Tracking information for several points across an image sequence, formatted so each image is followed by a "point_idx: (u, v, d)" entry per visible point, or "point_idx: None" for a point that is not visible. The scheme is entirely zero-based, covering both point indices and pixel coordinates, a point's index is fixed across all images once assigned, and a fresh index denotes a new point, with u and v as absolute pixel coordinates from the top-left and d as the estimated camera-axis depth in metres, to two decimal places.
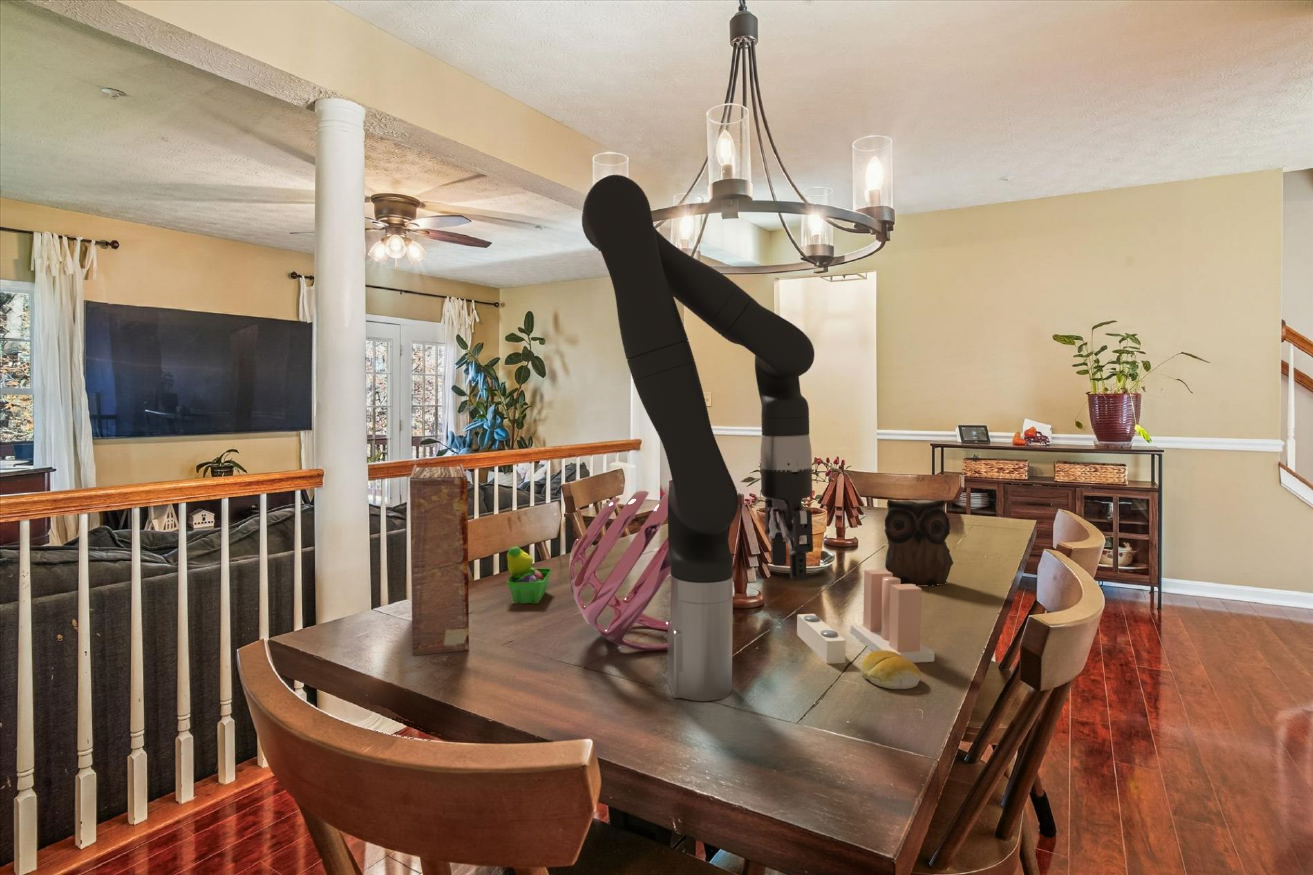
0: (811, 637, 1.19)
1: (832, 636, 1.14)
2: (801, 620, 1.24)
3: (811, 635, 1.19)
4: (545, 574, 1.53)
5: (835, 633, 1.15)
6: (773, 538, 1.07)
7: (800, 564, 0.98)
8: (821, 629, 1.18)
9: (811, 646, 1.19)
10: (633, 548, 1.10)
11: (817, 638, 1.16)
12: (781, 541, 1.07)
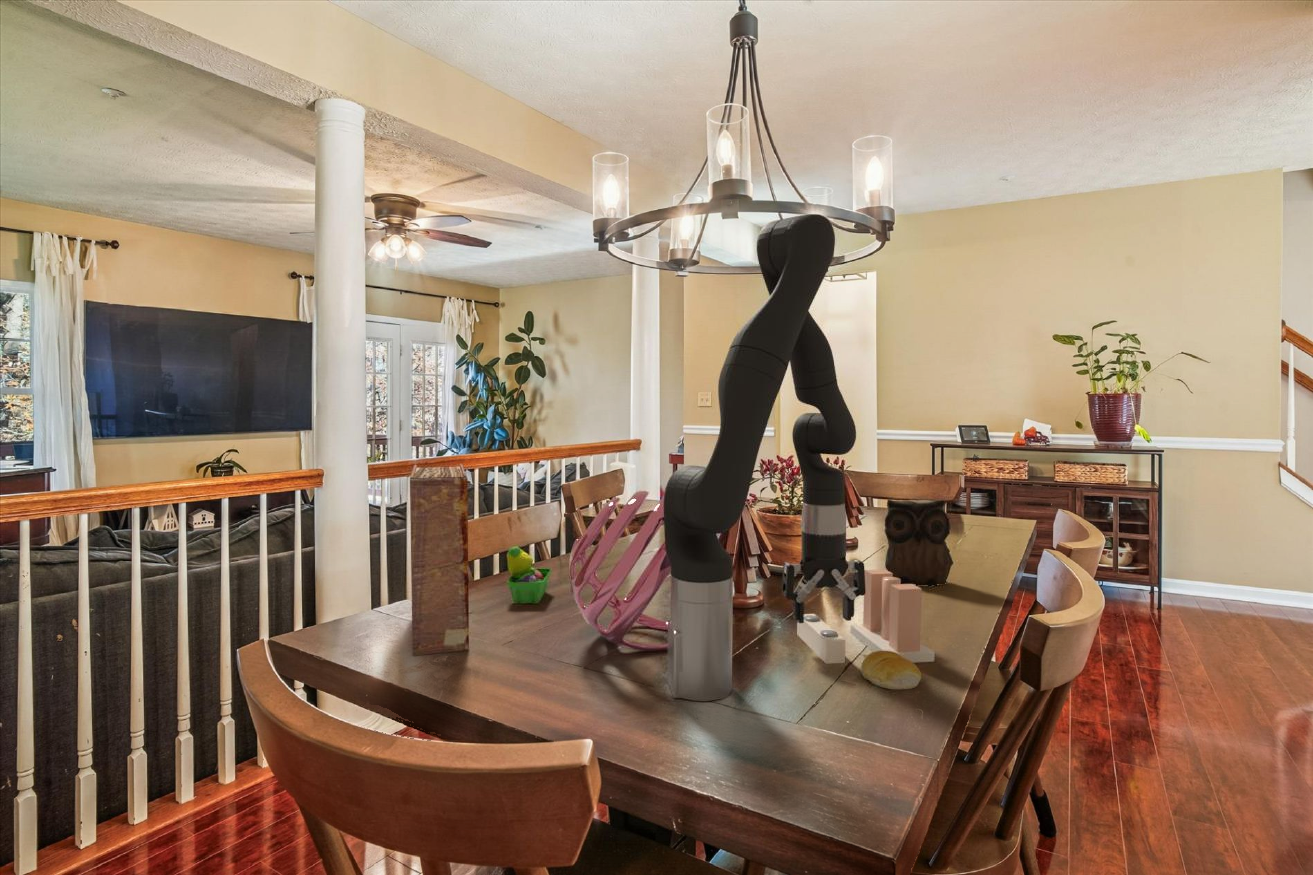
0: (811, 637, 1.19)
1: (832, 636, 1.14)
2: None
3: (811, 635, 1.19)
4: (545, 574, 1.53)
5: (835, 633, 1.15)
6: None
7: None
8: (821, 629, 1.18)
9: (811, 646, 1.19)
10: (633, 548, 1.10)
11: (817, 638, 1.16)
12: None
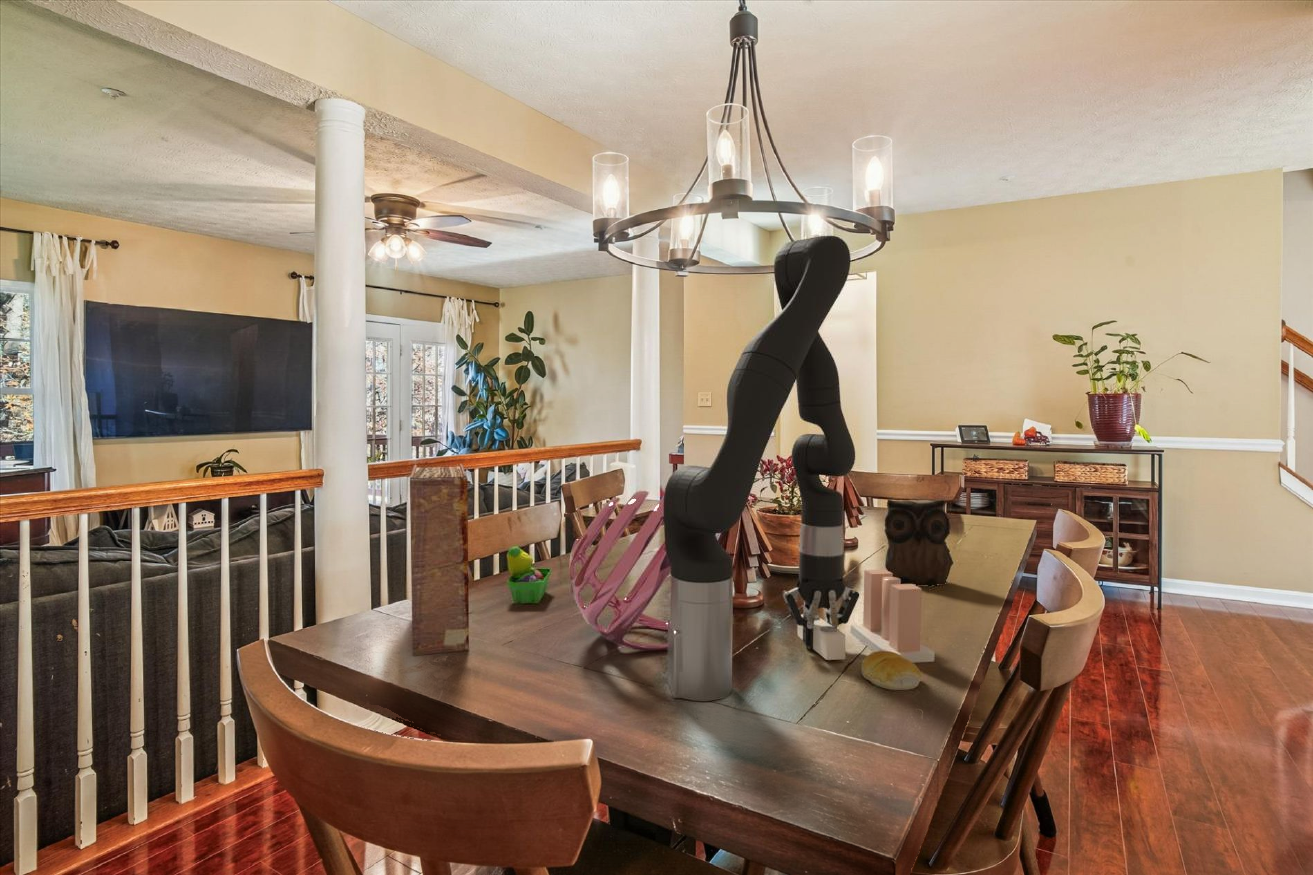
0: None
1: (831, 631, 1.14)
2: None
3: None
4: (545, 574, 1.53)
5: (835, 628, 1.15)
6: None
7: None
8: (820, 625, 1.18)
9: None
10: (633, 548, 1.10)
11: (817, 634, 1.16)
12: None
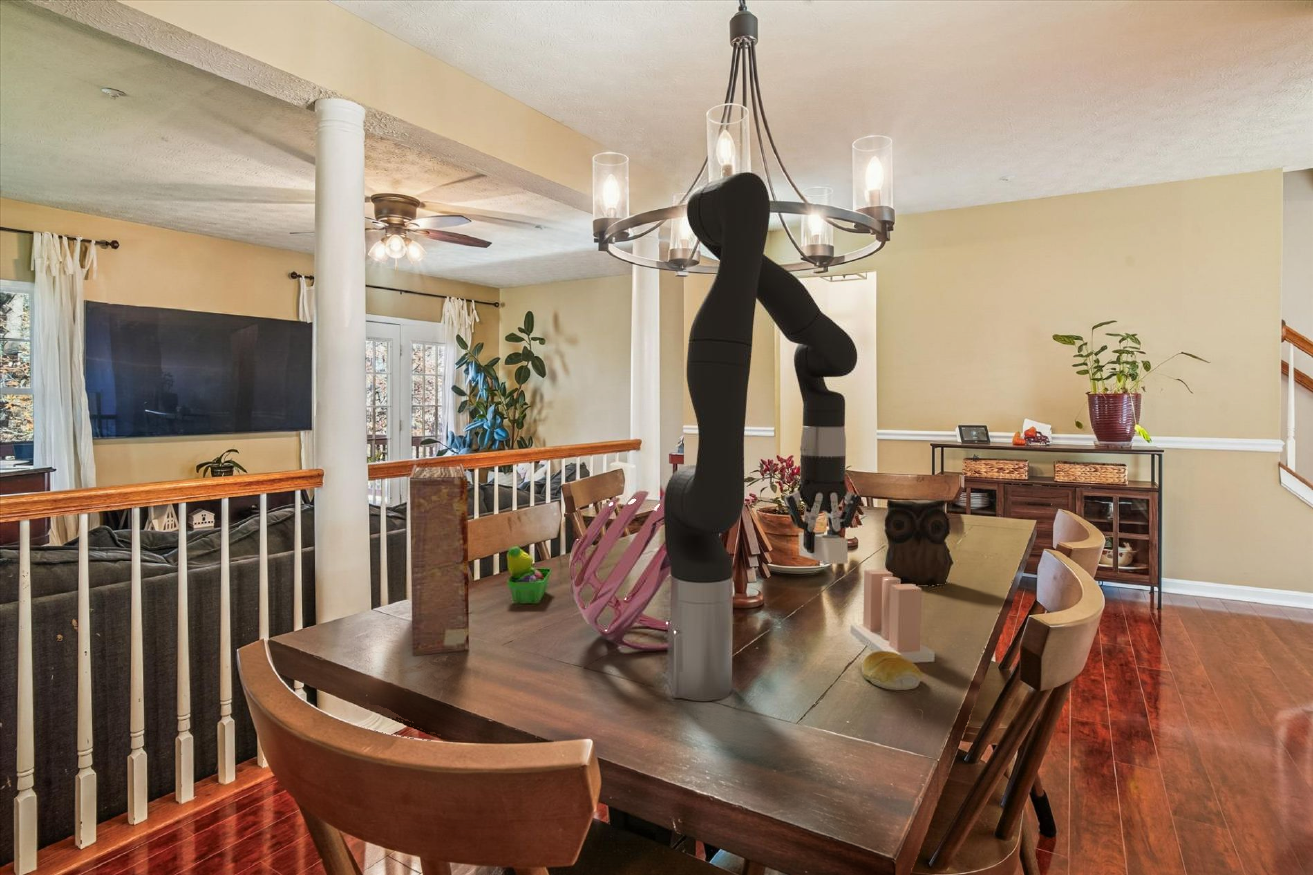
0: None
1: (833, 537, 1.13)
2: (802, 535, 1.23)
3: None
4: (545, 574, 1.53)
5: (836, 535, 1.14)
6: None
7: None
8: None
9: (813, 555, 1.17)
10: (633, 548, 1.10)
11: (819, 542, 1.15)
12: None
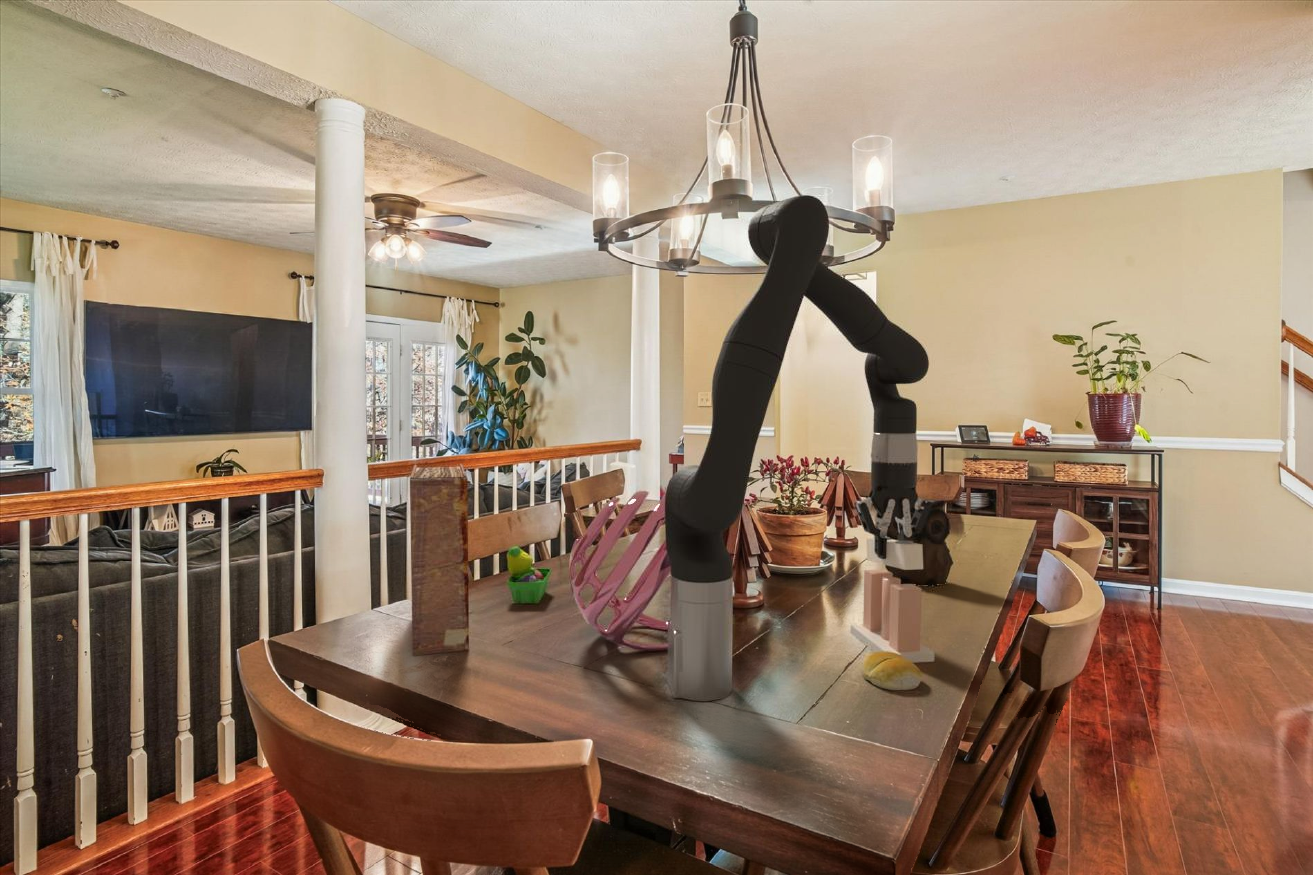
0: None
1: (907, 543, 1.13)
2: (871, 541, 1.23)
3: None
4: (545, 574, 1.53)
5: (910, 541, 1.14)
6: None
7: None
8: (894, 541, 1.17)
9: (885, 561, 1.18)
10: (633, 548, 1.10)
11: (892, 548, 1.15)
12: None
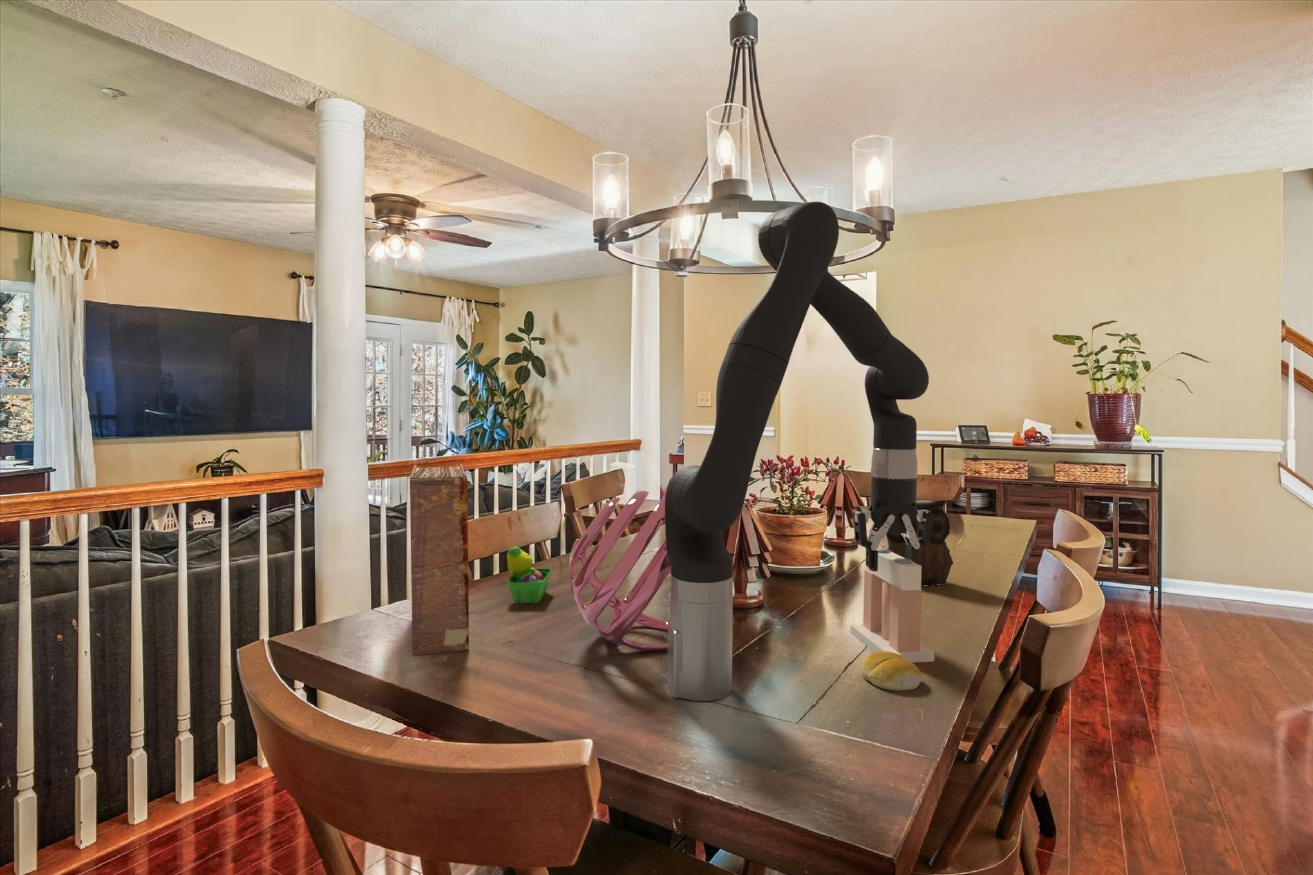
0: (883, 567, 1.19)
1: (907, 563, 1.13)
2: None
3: (883, 565, 1.19)
4: (545, 574, 1.53)
5: (909, 560, 1.14)
6: None
7: None
8: (893, 558, 1.18)
9: (883, 576, 1.18)
10: (633, 548, 1.10)
11: (891, 566, 1.16)
12: None
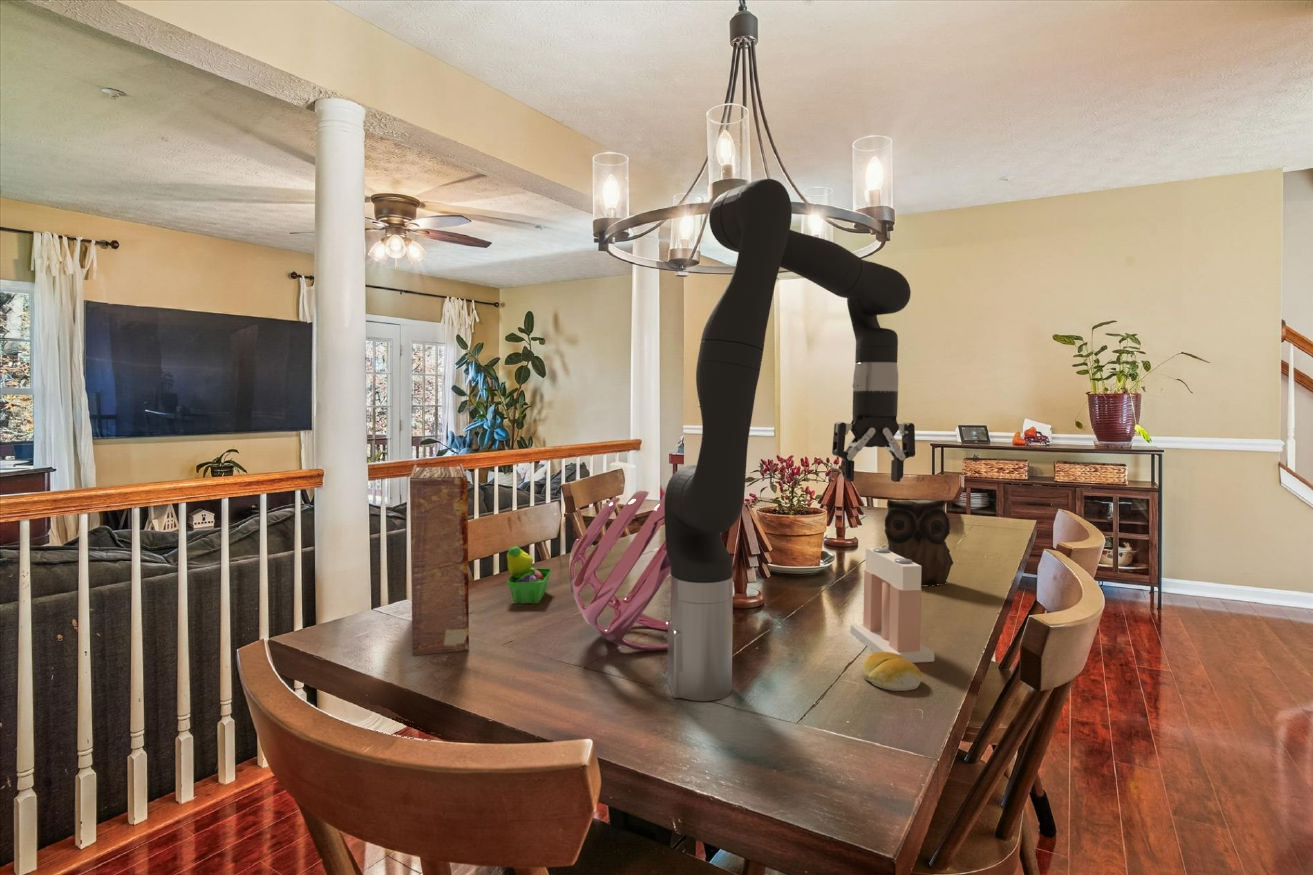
0: (883, 567, 1.19)
1: (907, 563, 1.13)
2: (870, 552, 1.24)
3: (883, 565, 1.19)
4: (545, 574, 1.53)
5: (909, 560, 1.14)
6: None
7: None
8: (893, 558, 1.18)
9: (883, 576, 1.18)
10: (633, 548, 1.10)
11: (891, 566, 1.16)
12: None
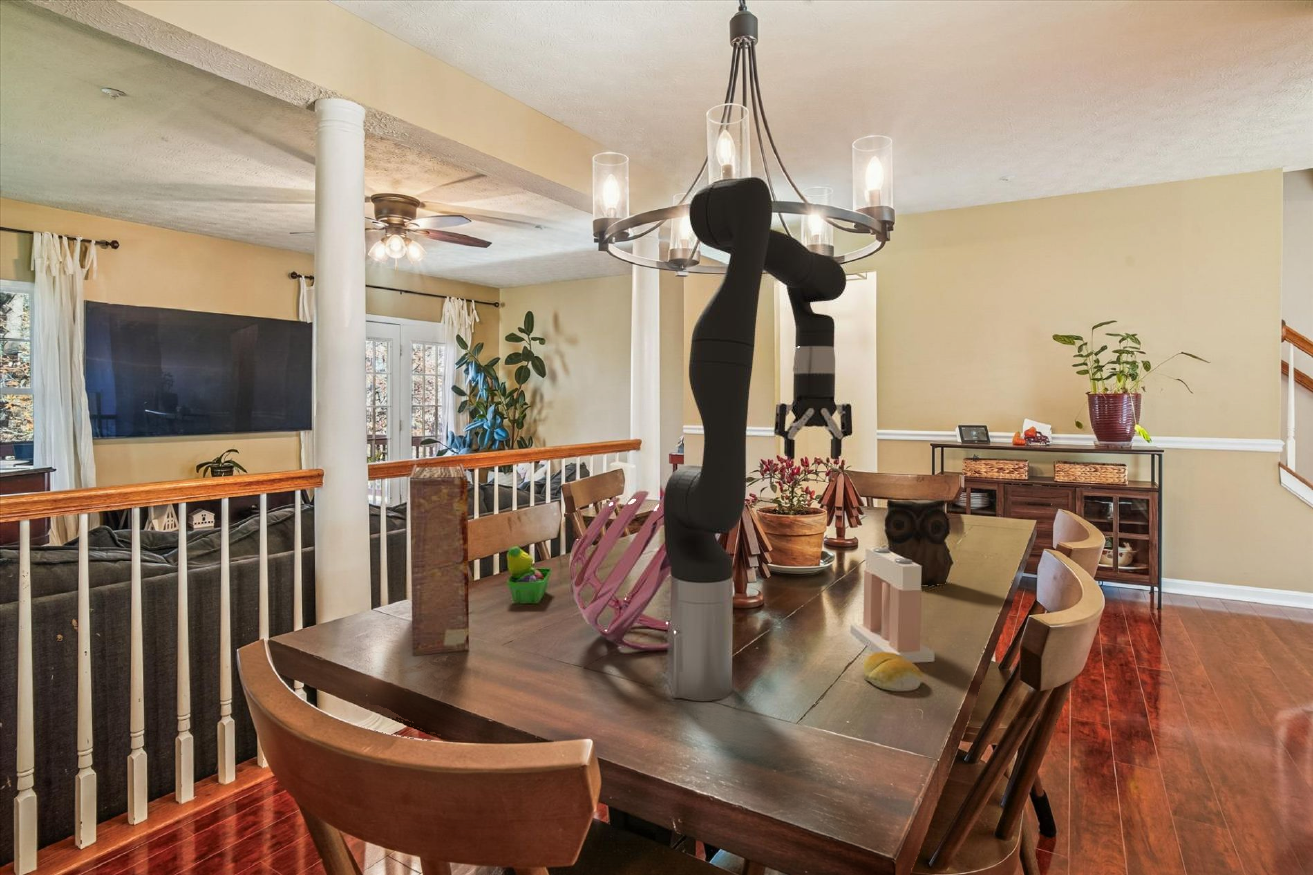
0: (883, 567, 1.19)
1: (907, 563, 1.13)
2: (870, 552, 1.24)
3: (883, 565, 1.19)
4: (545, 574, 1.53)
5: (909, 560, 1.14)
6: None
7: None
8: (893, 558, 1.18)
9: (883, 576, 1.18)
10: (633, 548, 1.10)
11: (891, 566, 1.16)
12: None
